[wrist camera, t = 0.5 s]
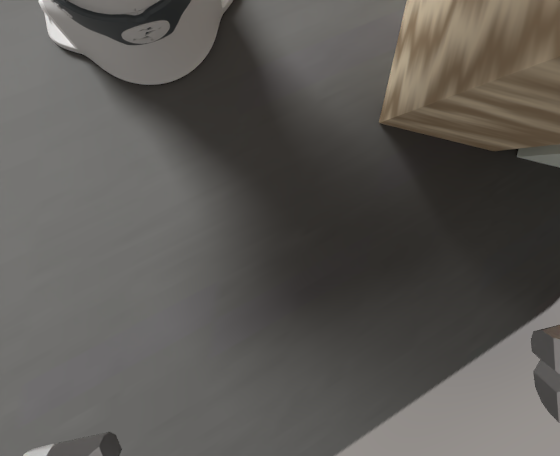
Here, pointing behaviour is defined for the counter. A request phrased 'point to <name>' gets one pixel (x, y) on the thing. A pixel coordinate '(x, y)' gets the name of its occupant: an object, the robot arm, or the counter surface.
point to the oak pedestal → (478, 72)
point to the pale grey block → (542, 154)
